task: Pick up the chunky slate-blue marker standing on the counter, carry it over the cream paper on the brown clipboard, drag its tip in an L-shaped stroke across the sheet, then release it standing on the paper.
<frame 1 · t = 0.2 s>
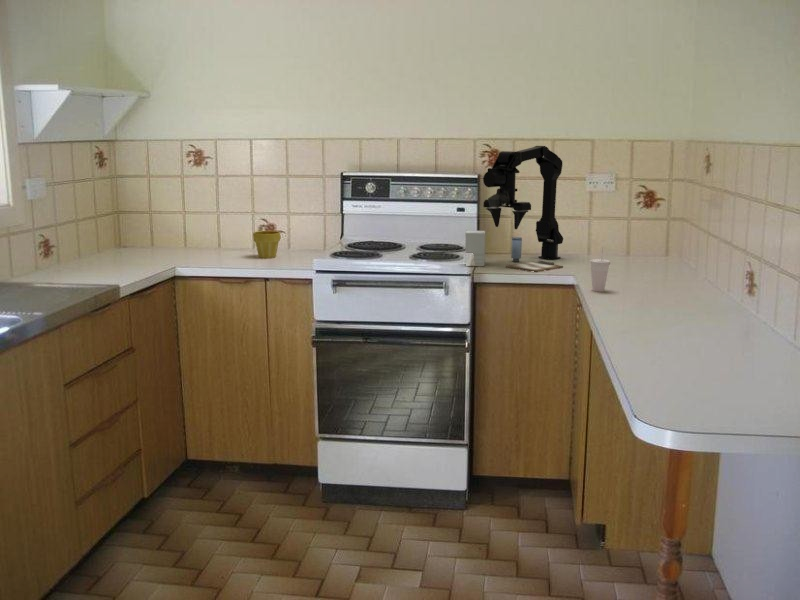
hand: (506, 228, 310), 14 cm above the table, fingers open, 9 cm apart
plant pot: (267, 257, 326), on the table
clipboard: (534, 267, 309), on the table
supplement box: (474, 265, 313), on the table
smoothie: (598, 291, 267), on the table
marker: (515, 261, 321), on the table
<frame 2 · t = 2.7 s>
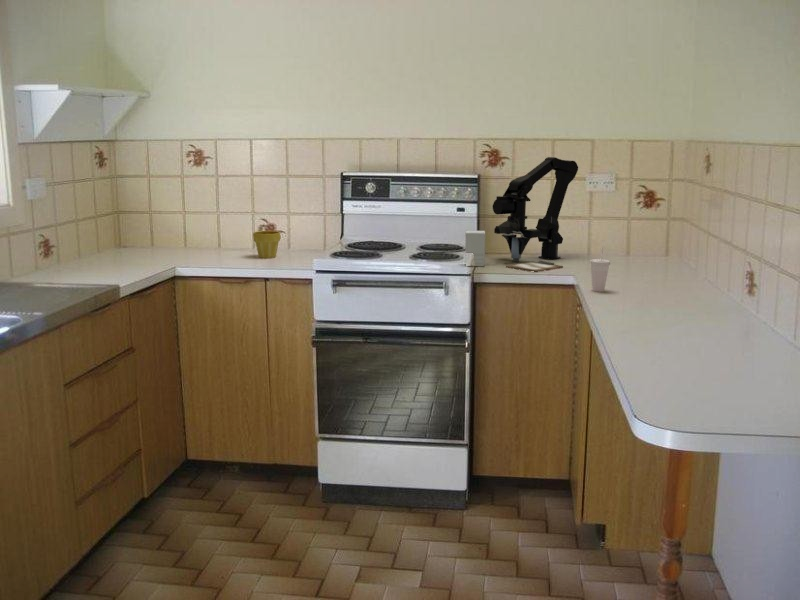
hand: (516, 253, 321), 3 cm above the table, fingers closed on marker, 4 cm apart
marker: (515, 261, 321), on the table, touching gripper
everything else where it was.
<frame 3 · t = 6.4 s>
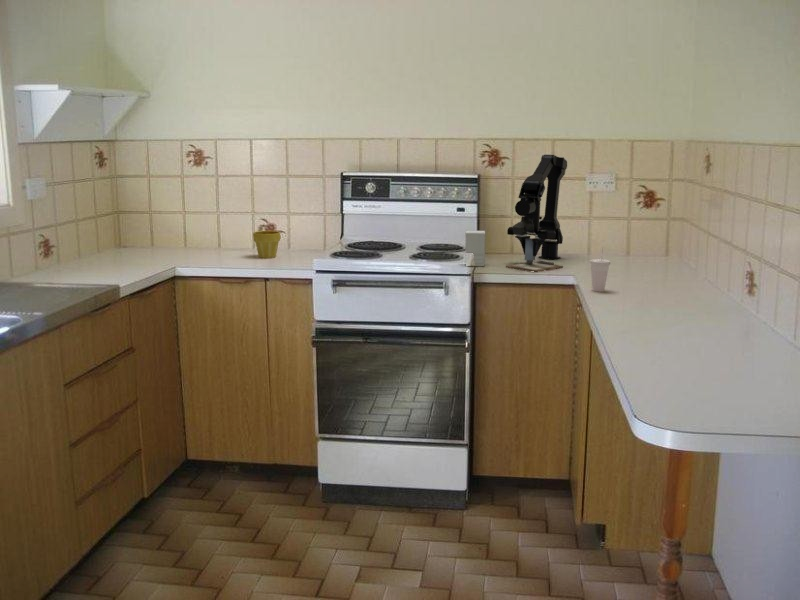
hand: (530, 255, 310), 4 cm above the table, fingers closed on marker, 4 cm apart
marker: (529, 263, 311), point 1 cm above the table, touching gripper
everything else where it was.
when the fingers open (4 cm above the table, at t = 10.2 s): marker stays where it is, resting on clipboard.
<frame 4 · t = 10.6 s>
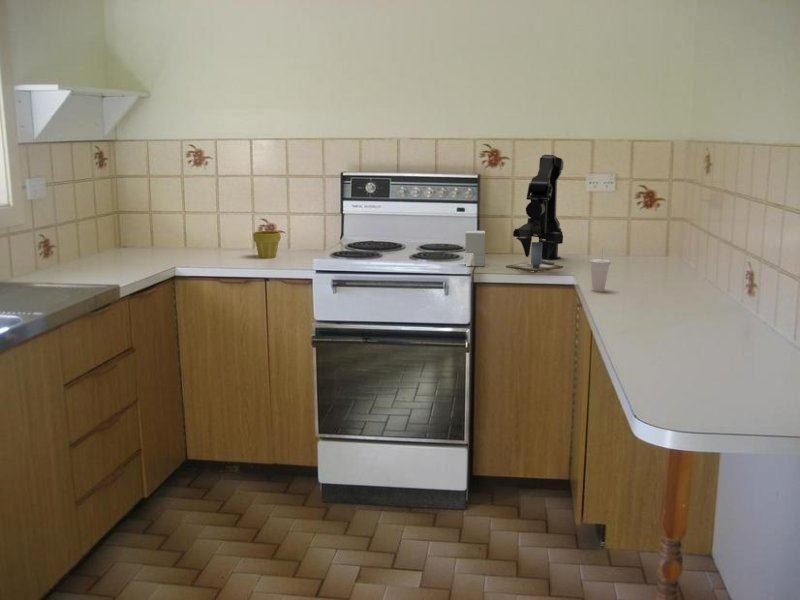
hand: (536, 258, 302), 4 cm above the table, fingers open, 8 cm apart
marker: (536, 268, 303), point 1 cm above the table, touching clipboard
everything else where it was.
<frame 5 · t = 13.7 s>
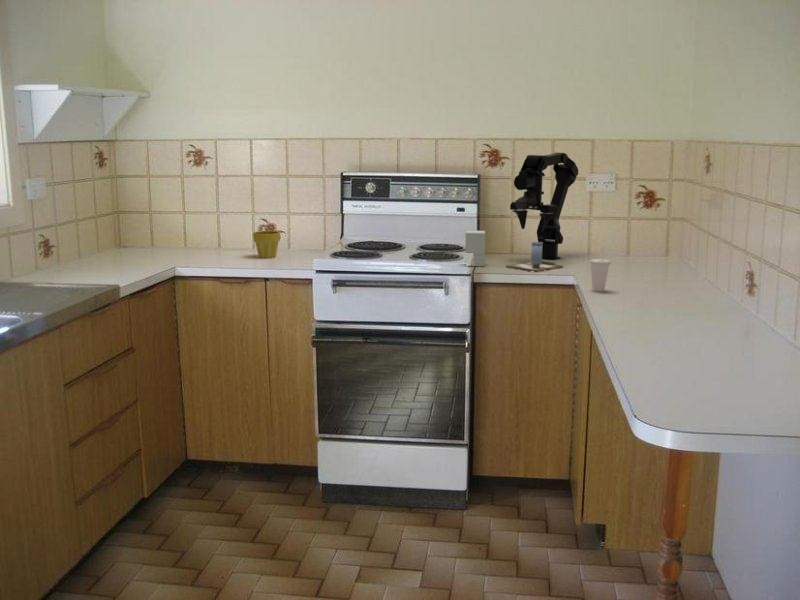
hand: (532, 230, 317), 13 cm above the table, fingers open, 9 cm apart
nothing on the table moved.
at the end: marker inside the target area on the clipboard (5.7 cm from its centre), point 0.7 cm above the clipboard's base; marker moved 19.3 cm from its start; the gripper is holding nothing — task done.
